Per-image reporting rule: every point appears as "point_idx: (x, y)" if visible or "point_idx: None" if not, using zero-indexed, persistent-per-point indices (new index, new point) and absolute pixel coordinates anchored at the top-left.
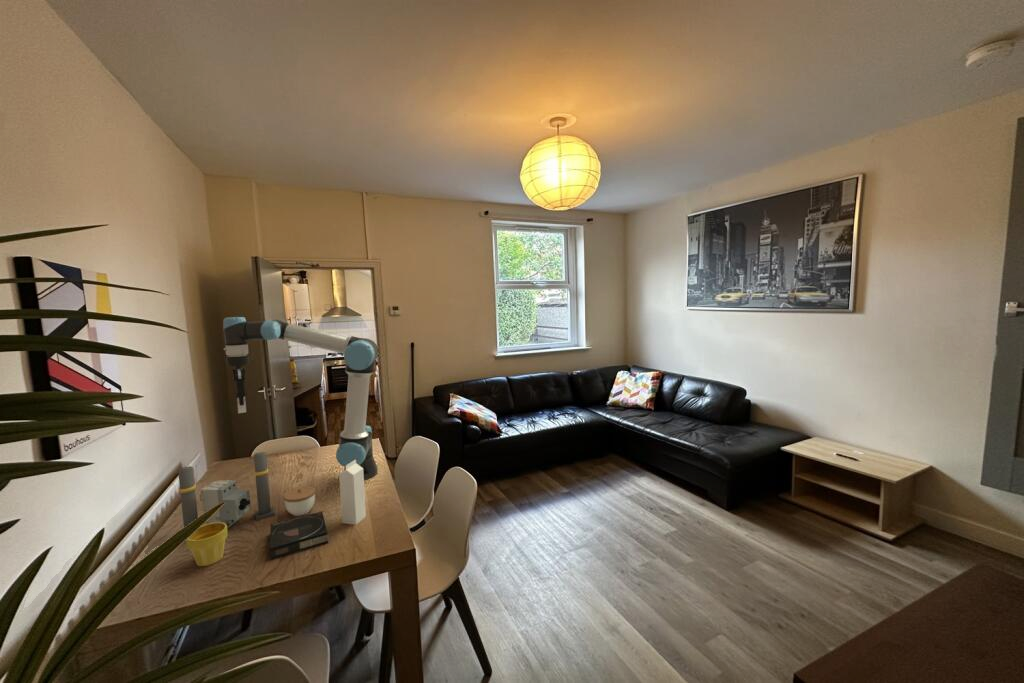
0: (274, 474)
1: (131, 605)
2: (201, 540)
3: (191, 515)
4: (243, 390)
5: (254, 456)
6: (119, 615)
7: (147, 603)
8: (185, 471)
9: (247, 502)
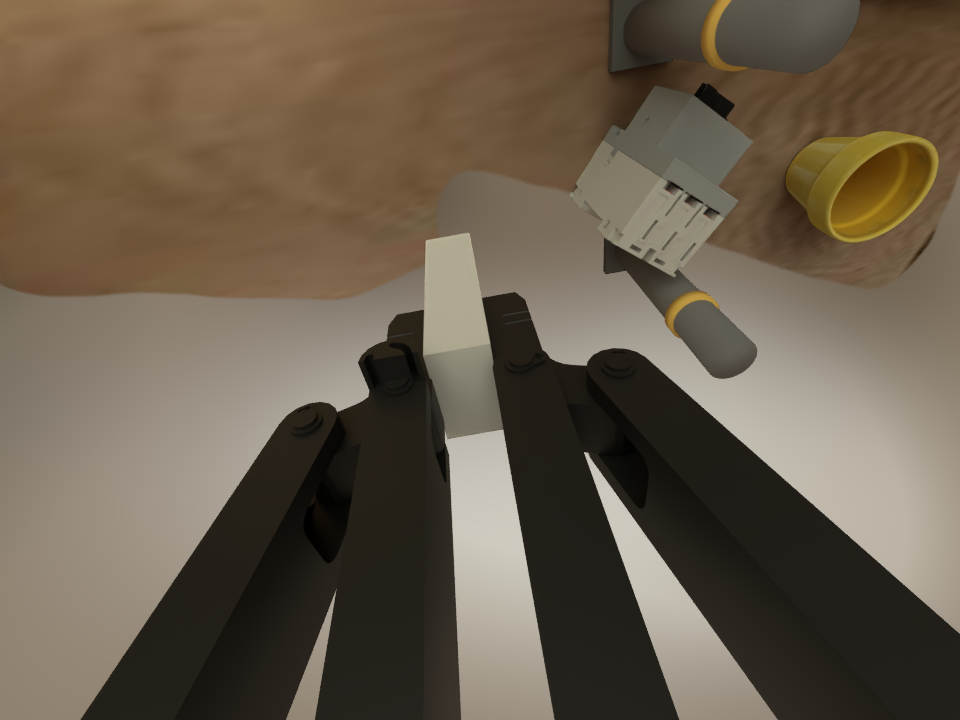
0: (183, 16)
1: (857, 278)
2: (923, 196)
3: None
4: (723, 441)
5: (817, 66)
6: (872, 287)
7: (879, 254)
8: (753, 352)
9: (718, 93)
